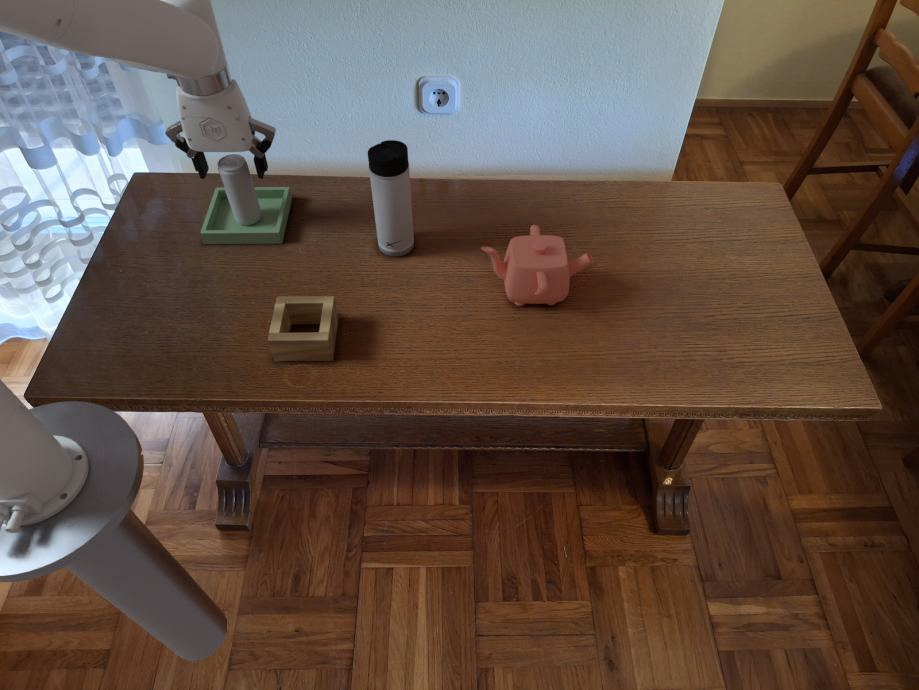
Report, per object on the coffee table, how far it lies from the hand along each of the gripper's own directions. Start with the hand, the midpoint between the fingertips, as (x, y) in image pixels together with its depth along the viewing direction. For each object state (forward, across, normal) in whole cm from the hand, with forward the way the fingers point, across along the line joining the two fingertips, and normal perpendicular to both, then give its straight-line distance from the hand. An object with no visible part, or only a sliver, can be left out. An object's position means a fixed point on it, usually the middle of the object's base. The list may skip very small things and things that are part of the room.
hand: (233, 173), depth 110 cm
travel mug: (+11, +27, -6) cm, 30 cm away
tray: (+10, 0, 0) cm, 10 cm away
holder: (+11, +14, -28) cm, 33 cm away
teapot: (+11, +50, -18) cm, 54 cm away
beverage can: (+10, 0, 0) cm, 10 cm away
